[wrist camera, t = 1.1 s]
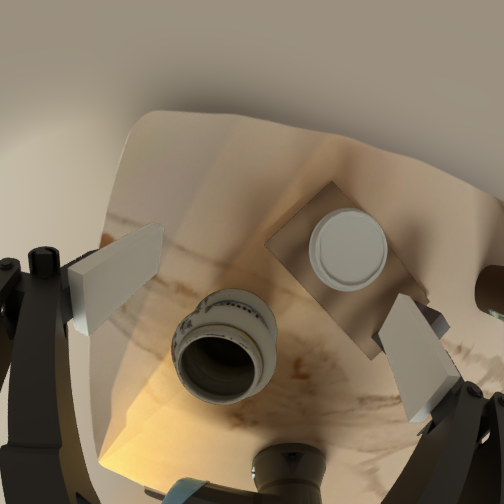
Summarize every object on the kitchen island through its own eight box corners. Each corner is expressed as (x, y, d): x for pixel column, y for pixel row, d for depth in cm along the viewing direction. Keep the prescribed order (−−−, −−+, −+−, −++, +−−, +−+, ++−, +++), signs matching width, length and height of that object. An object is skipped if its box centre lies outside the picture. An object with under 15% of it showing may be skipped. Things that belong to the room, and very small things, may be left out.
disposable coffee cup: (316, 203, 40) (335, 190, 28) (368, 234, 40) (403, 234, 28) (287, 259, 41) (294, 268, 29) (340, 289, 41) (366, 307, 29)
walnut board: (426, 300, 39) (462, 316, 28) (368, 357, 41) (391, 389, 30) (330, 182, 40) (348, 162, 29) (264, 244, 41) (259, 246, 30)
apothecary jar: (266, 362, 42) (258, 430, 24) (196, 342, 43) (152, 397, 25) (286, 293, 42) (292, 331, 24) (210, 273, 42) (165, 297, 25)
